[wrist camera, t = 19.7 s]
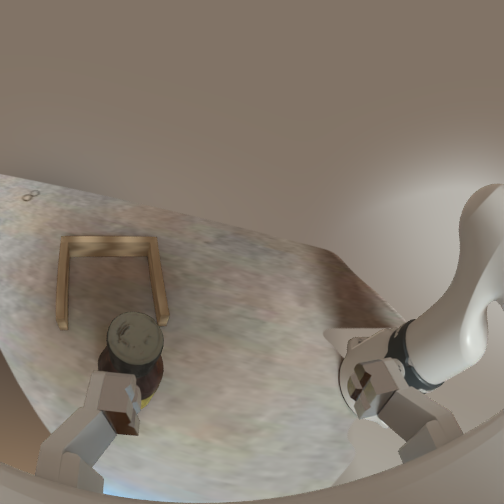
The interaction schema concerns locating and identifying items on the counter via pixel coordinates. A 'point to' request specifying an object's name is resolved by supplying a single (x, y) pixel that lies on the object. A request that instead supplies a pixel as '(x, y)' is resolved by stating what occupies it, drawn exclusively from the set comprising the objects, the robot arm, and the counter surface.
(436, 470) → the robot arm
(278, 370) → the counter surface
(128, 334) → the sauce bottle
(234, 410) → the counter surface
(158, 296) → the wooden bracket
